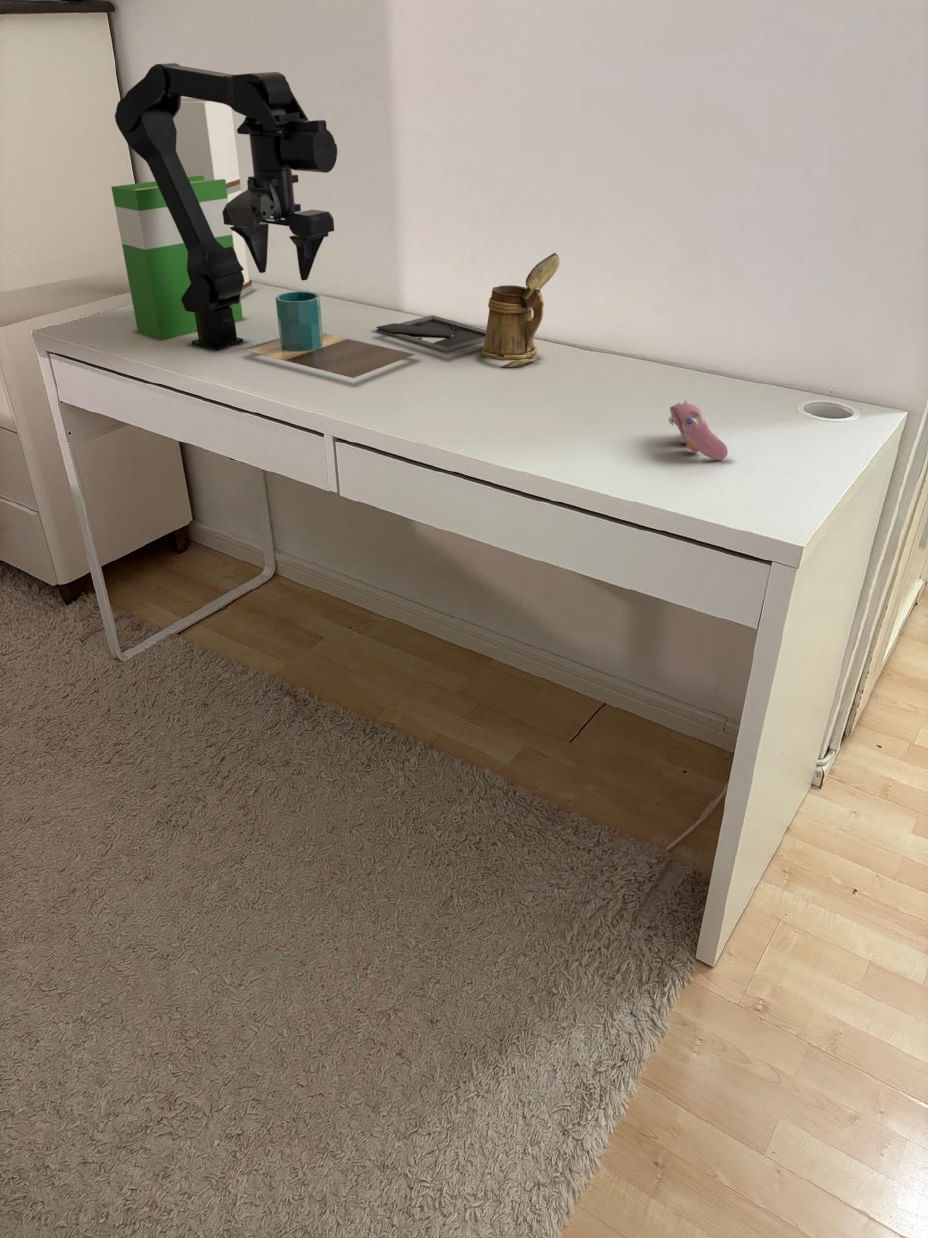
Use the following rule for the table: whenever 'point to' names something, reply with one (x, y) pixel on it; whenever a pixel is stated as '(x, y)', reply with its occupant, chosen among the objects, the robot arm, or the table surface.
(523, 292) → the wooden mug
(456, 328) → the picture frame
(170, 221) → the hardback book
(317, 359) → the serving board
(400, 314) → the table surface
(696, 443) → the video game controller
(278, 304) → the teal cup
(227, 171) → the tall white box
